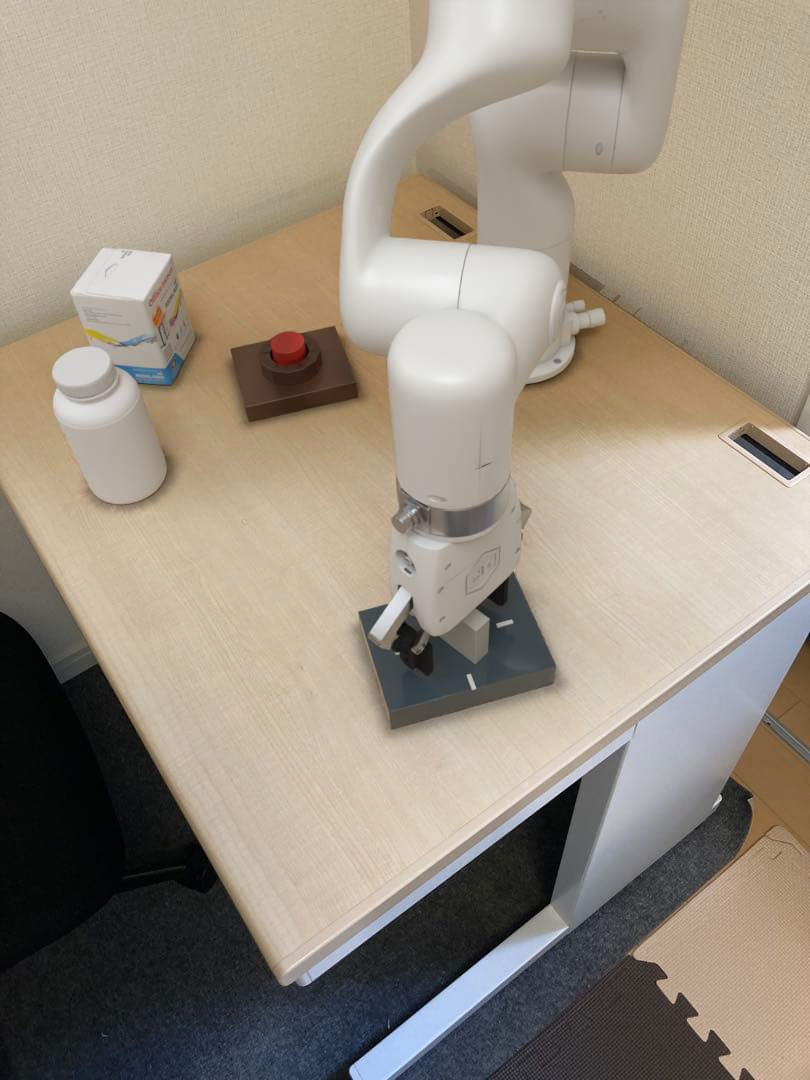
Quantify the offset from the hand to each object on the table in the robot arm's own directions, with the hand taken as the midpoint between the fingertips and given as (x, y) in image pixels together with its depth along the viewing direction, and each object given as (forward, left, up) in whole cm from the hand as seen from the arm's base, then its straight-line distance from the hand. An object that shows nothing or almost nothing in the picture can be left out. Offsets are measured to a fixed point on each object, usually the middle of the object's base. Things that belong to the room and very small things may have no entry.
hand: (454, 627), depth 74 cm
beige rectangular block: (0, 0, -2) cm, 2 cm away
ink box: (+21, -48, -5) cm, 53 cm away
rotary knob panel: (0, 0, -5) cm, 5 cm away
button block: (+6, -39, -5) cm, 40 cm away
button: (+6, -39, -1) cm, 39 cm away
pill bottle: (+25, -30, -5) cm, 39 cm away
